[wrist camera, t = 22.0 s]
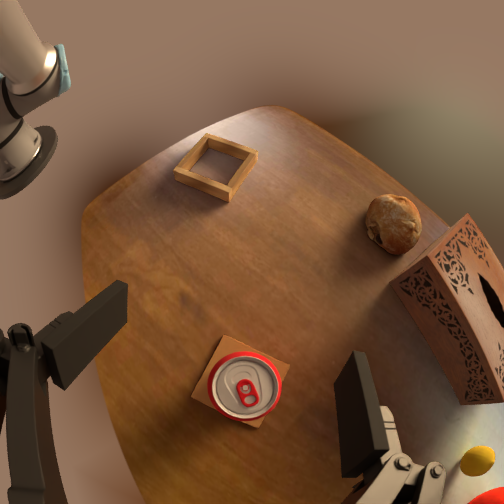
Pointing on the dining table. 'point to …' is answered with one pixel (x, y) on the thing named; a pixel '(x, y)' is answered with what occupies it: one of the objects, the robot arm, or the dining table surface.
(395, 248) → the bread roll
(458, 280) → the tissue box cover
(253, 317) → the dining table surface
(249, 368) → the beverage can
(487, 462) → the lemon
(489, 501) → the apple
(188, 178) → the square wooden frame
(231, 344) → the cork mat
